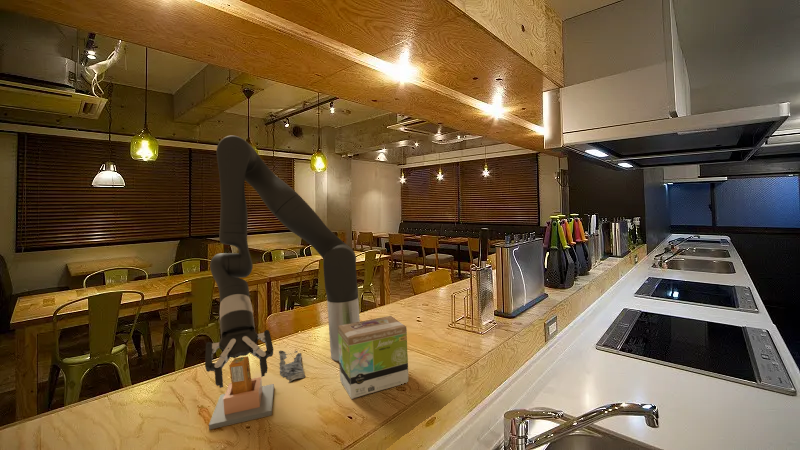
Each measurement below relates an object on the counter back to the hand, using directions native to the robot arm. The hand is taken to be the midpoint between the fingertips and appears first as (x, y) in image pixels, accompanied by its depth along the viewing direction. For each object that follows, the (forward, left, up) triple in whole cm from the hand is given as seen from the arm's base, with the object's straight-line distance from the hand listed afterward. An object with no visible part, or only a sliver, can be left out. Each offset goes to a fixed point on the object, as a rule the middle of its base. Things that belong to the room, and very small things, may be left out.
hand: (242, 380), depth 74 cm
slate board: (0, -1, -7) cm, 7 cm away
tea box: (-30, +1, -7) cm, 31 cm away
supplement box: (+1, -1, -6) cm, 6 cm away
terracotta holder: (0, -1, -6) cm, 6 cm away
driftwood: (-10, -19, -7) cm, 23 cm away
